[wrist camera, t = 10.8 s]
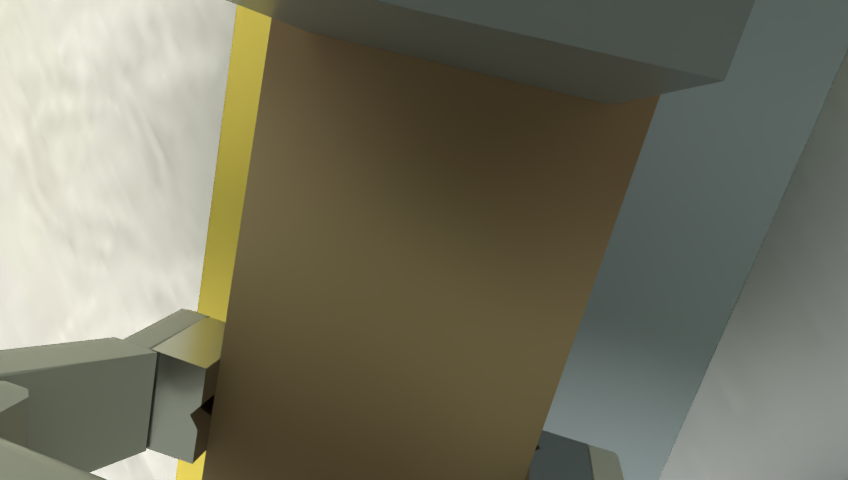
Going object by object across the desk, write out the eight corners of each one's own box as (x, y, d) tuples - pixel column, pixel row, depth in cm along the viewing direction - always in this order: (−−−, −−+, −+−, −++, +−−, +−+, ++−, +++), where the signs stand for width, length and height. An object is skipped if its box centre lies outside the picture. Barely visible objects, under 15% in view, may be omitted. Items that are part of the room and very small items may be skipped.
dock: (337, -80, 17) (257, -158, 12) (778, 11, 15) (889, -37, 10) (250, 423, 23) (172, 508, 18) (567, 539, 21) (576, 670, 16)
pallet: (416, -248, 9) (345, -466, 6) (718, -200, 8) (841, -419, 5) (236, 674, 15) (147, 836, 11) (403, 748, 14) (361, 944, 11)
